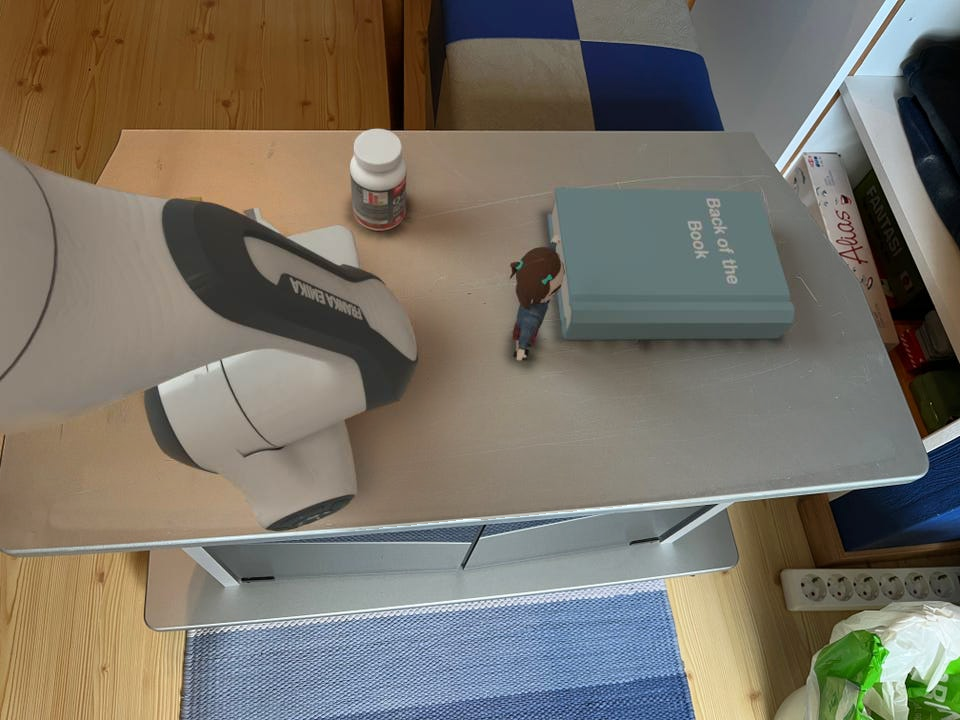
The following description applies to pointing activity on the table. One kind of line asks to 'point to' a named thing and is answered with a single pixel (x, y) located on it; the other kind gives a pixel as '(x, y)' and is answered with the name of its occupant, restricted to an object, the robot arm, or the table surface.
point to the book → (668, 265)
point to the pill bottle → (378, 180)
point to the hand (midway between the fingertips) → (229, 217)
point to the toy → (535, 292)
